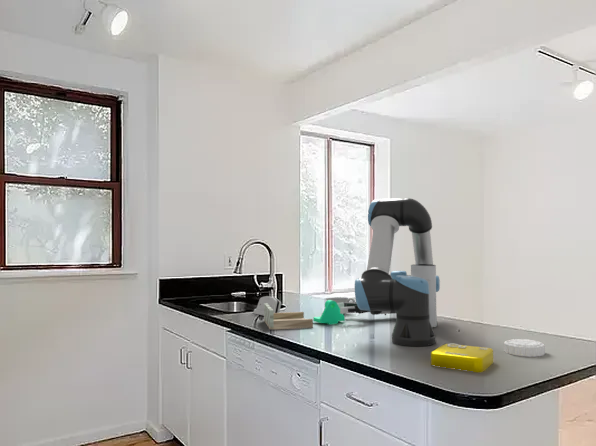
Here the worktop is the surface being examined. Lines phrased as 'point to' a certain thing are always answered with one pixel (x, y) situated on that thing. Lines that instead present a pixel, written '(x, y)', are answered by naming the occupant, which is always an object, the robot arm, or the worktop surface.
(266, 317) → the dock
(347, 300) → the teacup
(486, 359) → the element tile
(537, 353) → the mooncake
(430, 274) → the speaker
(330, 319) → the camera mount
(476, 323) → the worktop surface
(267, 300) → the grey rounded piece
